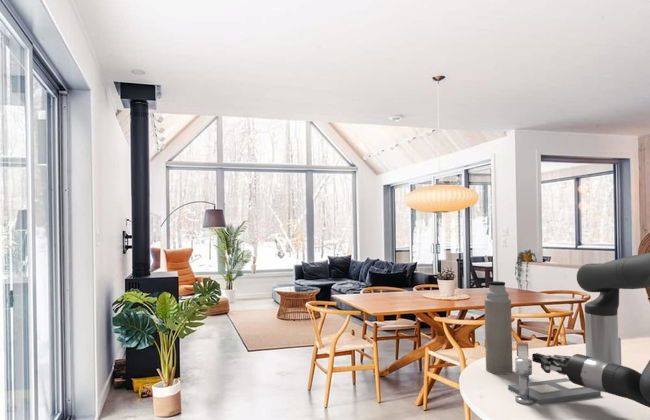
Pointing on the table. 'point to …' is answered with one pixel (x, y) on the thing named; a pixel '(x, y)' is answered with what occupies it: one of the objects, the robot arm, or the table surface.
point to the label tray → (556, 391)
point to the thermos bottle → (498, 329)
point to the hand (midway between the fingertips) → (534, 357)
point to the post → (524, 391)
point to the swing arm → (523, 359)
